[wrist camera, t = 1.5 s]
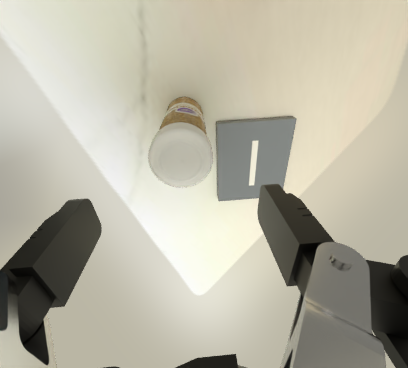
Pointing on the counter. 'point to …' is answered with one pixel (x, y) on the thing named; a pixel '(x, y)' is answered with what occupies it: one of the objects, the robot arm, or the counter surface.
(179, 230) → the counter surface
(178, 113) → the sprinkles bottle
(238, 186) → the slate board
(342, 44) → the counter surface
